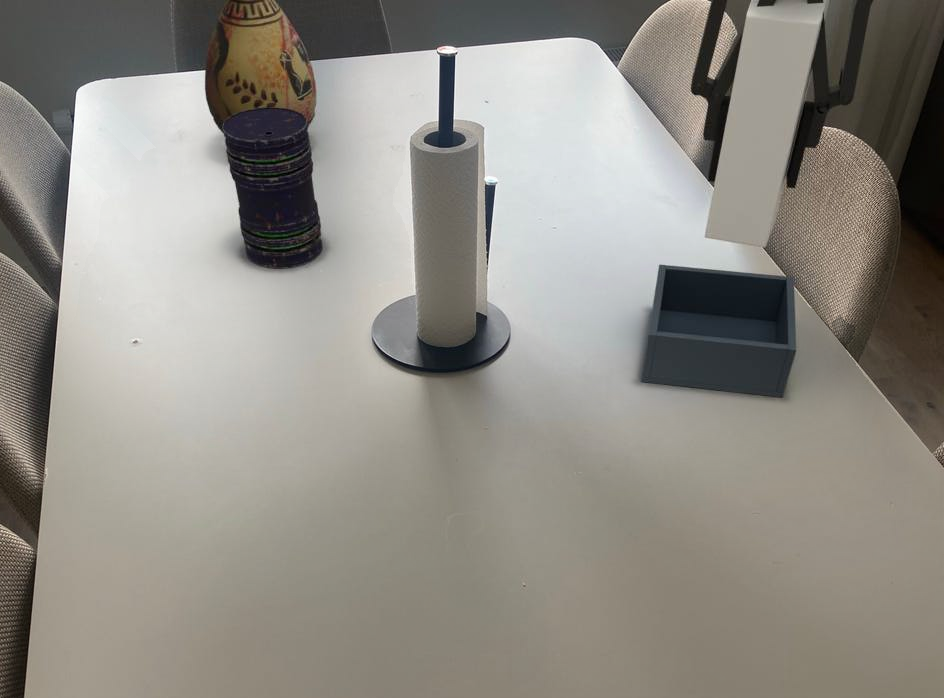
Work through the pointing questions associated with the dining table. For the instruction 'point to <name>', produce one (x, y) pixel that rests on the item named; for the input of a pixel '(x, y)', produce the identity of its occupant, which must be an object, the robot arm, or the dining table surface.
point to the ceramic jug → (257, 63)
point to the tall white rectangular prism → (763, 119)
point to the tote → (721, 331)
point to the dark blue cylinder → (274, 186)
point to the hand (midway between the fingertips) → (751, 178)
